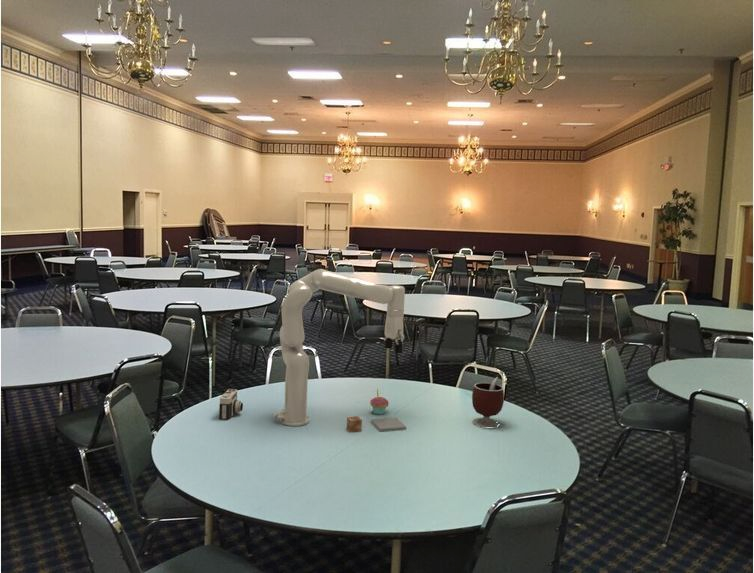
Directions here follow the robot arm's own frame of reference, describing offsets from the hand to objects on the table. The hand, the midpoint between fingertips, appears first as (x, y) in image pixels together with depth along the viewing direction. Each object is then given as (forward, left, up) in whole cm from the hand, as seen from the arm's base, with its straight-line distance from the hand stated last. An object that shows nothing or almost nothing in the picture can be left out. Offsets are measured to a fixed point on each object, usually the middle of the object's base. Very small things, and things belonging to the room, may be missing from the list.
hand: (393, 350), depth 264 cm
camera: (-69, +15, -31) cm, 77 cm away
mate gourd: (+39, -19, -30) cm, 53 cm away
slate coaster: (-6, -13, -30) cm, 33 cm away
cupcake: (-4, +5, -30) cm, 31 cm away
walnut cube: (-22, -14, -30) cm, 40 cm away
